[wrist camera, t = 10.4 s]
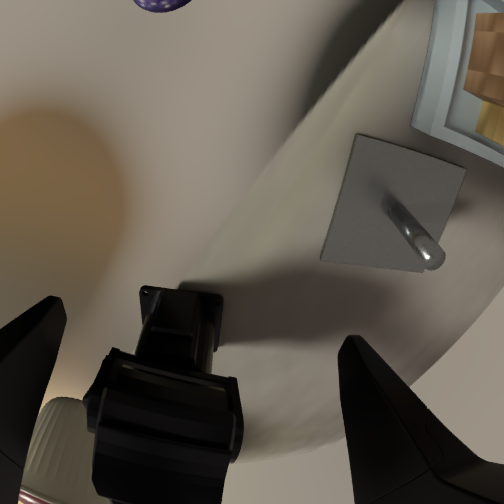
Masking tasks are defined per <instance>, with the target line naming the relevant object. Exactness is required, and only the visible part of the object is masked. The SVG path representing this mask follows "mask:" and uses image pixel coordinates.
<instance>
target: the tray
mask: <svg viewBox="0 0 504 504" xmlns="http://www.w3.org/2000/svg"><path fill="white" fill-rule="evenodd" d="M476 13H504V0H435V7H434V14H433V21H432V27H431V34H430V39H429V45H428V50H427V55H426V60H425V65H424V70H423V75H422V79H421V84H420V88H419V92H418V97H417V101H416V105H415V109H414V113H413V116H412V120H411V124H410V126H412V127H414V128H416V129H418V130H420V131H422V132H424V133H426V134H428V135H430V136H433V137H435V138H438V139H441V140H443V141H446V142H448V143H451V144H453V145H455V146H458V147H460V148H463V149H465V150H467V151H470V152H472V153H474V154H476V155H478V156H481V157H483V158H485V159H487V160H489V161H491V162H493V163H495V164H497V165H500V166H502V167H504V147H503V146H502V145H500V144H498V143H496V142H494V141H492V140H490V139H488V138H486V137H484V136H482V135H480V134H478V133H476V132H475V129H476V126H477V122H478V119H479V115H480V111H481V107H482V103H483V100H481V99H479V98H478V97H476V96H474V95H472V94H470V93H469V92H467V91H465V90H463V87H464V83H465V78H466V74H467V69H468V64H469V58H470V53H471V47H472V41H473V34H474V27H475V19H476Z"/></svg>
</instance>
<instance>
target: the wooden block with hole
mask: <svg viewBox="0 0 504 504" xmlns="http://www.w3.org/2000/svg"><path fill="white" fill-rule="evenodd" d="M463 90H465V91H467V92H469V93H470V94H472V95H474V96H476V97H478V98H479V99H481V100H483V103H482V107H481V111H480V115H479V119H478V122H477V126H476V129H475V132H476V133H478V134H480V135H482V136H484V137H486V138H488V139H490V140H492V141H494V142H496V143H498V144H500V145H502V146H503V147H504V13H476V19H475V27H474V34H473V41H472V47H471V53H470V58H469V64H468V69H467V74H466V78H465V83H464V87H463Z"/></svg>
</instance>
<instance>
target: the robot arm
mask: <svg viewBox="0 0 504 504" xmlns="http://www.w3.org/2000/svg"><path fill="white" fill-rule="evenodd" d="M144 291H146V292H148V293H145V292H144ZM139 296H140V305H141V315H142V324H143V327H142V330H141V334H140V337H139V340H138V344H137V347H136V350H135V354H134V355H133V354H130V353H126V352H123V351H120V349H117V348H114V347H112V349H111V351H110V353H109V355H106V357H105V359H104V360H103V362H102V365H101V367H100V370H99V372H98V374H97V376H96V378H95V380H94V383H93V384H92V385H91V387H90V388H89V390H88V391H87V393H86V394H85V395H84V397H83V400H82V406H83V407H84V409H85V411H86V413H87V414H86V417H87V430H88V432H90V433H93V434H95V439H94V448H93V458H92V477H91V479H92V482H93V485H94V487H95V490H96V492H97V494H98V495H99V496H101V497H104V498H108V500H109V501H110V503H111V504H221V501H222V495H223V488H224V481H225V477H226V473H227V469H228V465H229V463H234V462H235V461H236V459H237V457H238V455H239V452H240V449H241V445H242V440H243V431H244V421H243V413H242V407H241V401H240V395H239V389H238V383H237V378H235V377H230V376H229V377H223V376H218V375H214V374H211V373H212V361H213V352H216V351H217V349H218V342H219V334H220V327H221V319H222V312H223V304H224V298H223V297H222V296H221V295H216V294H208V293H200V292H192V291H184V290H176V289H168V288H161V287H153V286H147V285H144V286H142V287H141V289H140V292H139ZM215 301H219V302H215ZM66 321H67V316H66V313H65V309H64V305H63V302H62V299H61V298H60V297H56V296H51V295H50V296H48V297H46V298H44V299H43V300H41V301H40V302H38V303H37V304H35V305H34V306H33V307H31V308H30V309H28V310H27V311H25V312H24V313H22V314H21V315H19V316H18V317H17V318H15V319H14V320H12V321H11V322H9V323H8V324H7V325H5V326H4V327H2V328H1V329H0V504H18V500H19V494H20V488H21V483H22V478H23V473H24V468H25V463H26V459H27V454H28V450H29V446H30V442H31V439H32V435H33V431H34V427H35V424H36V420H37V417H38V414H39V410H40V407H41V404H42V401H43V398H44V394H45V391H46V388H47V385H48V383H49V380H50V377H51V374H52V371H53V368H54V365H55V362H56V359H57V355H58V351H59V347H60V344H61V340H62V336H63V333H64V329H65V326H66ZM338 371H339V389H340V401H341V408H342V414H343V420H344V427H345V433H346V440H347V447H348V454H349V461H350V469H351V476H352V484H353V493H354V502H355V504H504V464H498V463H493V462H488V461H486V460H484V459H482V458H480V457H478V456H477V455H476V454H474V452H472V451H471V450H470V449H469V448H468V447H467V446H466V445H465V444H463V443H462V442H461V441H460V440H459V439H458V438H457V437H456V436H455V435H454V434H453V433H452V432H451V431H450V430H449V429H448V428H447V427H445V426H444V425H443V423H442V422H441V421H440V420H439V419H438V418H437V417H436V416H435V415H434V414H433V413H432V412H431V411H430V410H429V409H427V406H426V405H425V404H424V403H423V402H422V401H421V400H420V399H419V398H418V397H417V395H416V394H415V393H414V392H413V391H412V390H411V389H410V388H409V387H408V386H407V385H406V384H405V382H404V381H403V380H402V379H401V378H400V377H399V376H398V375H397V374H396V373H395V372H394V371H393V370H392V368H391V367H390V366H389V365H388V364H387V363H386V362H385V361H384V360H383V359H382V358H381V357H380V356H379V355H378V353H377V352H376V351H375V350H374V349H373V348H372V347H371V346H370V345H369V344H368V343H367V342H366V341H365V340H364V339H363V338H362V337H361V336H360V335H348V336H347V337H346V339H345V341H344V342H343V344H342V346H341V348H340V350H339V352H338Z"/></svg>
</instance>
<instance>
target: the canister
mask: <svg viewBox="0 0 504 504" xmlns="http://www.w3.org/2000/svg"><path fill="white" fill-rule="evenodd" d="M86 414H87V413H86V411H85V409H84V407H83V406H82V400H79V399H74V398H69V397H56V398H54V399H51V400H50V401H49V402H48V403H46V404H45V406H44V407H43V408H42V410H41V412H40V413H39V415H38V417H37V420H36V424H35V427H34V431H33V435H32V439H31V442H30V446H29V450H28V454H27V459H26V463H25V468H24V473H23V478H22V483H21V488H20V494H19V501H21V502H22V503H24V504H111V503H110V501H109V500H108V498H104V497H101V496H99V495H98V494H97V492H96V490H95V487H94V485H93V482H92V479H91V477H92V458H93V448H94V439H95V434H93V433H90V432H88V430H87V417H86Z"/></svg>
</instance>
